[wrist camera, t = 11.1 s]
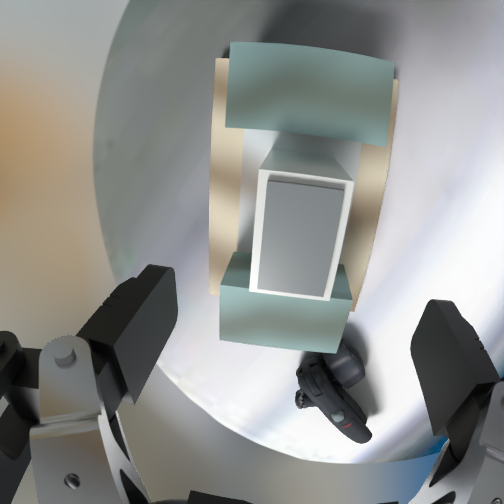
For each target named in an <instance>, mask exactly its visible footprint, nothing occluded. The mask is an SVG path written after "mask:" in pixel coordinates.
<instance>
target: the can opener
mask: <svg viewBox="0 0 504 504" xmlns="http://www.w3.org/2000/svg"><path fill="white" fill-rule="evenodd" d="M322 355H323V357H324V360H325V362H326V363H325V362H324V361H323V360H322V359H320V358H309V359H307V360H305V361H304V362H303V363H302V364H301V365H300V366H299V368H298V369H297V371H296V376H297V377H298V384H299V386H300V390H298V391H297V392H296V396H295V403H296V406H297V407H298V408H299V409H302V408H307V407H314V406H316V407H318V408H319V409H320V410H321V411H322V412H323V414H324V415H325V416H326V417H327V418H328V419H329V420H330V421H331V422H332V424H333V425H335V426H336V428H338V429H339V430H340V431H341V432H342V433H343V434H344V435H346V436H347V437H348V438H350V439H351V440H353V441H355V442H357V443H360V444H363V443H366V442H368V441H369V440H370V439H371V437H372V433H371V432H370V430H369V429H368V428H367V426H366V422H367V418H366V416H365V415H364V413H363V411H362V410H361V408H360V407H359V406H358V405H357V403H356V402H355V401H354V400H353V399H352V398H351V397H350V396H349V395H348V393H347V392H346V391H345V390H344V389H343V387H345V388H350V387H352V386H353V385H355V384H356V383H357V382H358V381H360V380H361V379H362V378H364V377H365V369H364V365H363V362H362V359H361V357H360V356H359V354H358V352H357V351H356V350H355V349H354V348H353V347H352V346H351V345H350V344H349V343H348V342H347V341H345V340H344V339H341V341H340V344H339V347H338V350H337V353H324V352H322ZM342 386H343V387H342Z"/></svg>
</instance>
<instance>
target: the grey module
mask: <svg viewBox="0 0 504 504" xmlns="http://www.w3.org/2000/svg"><path fill="white" fill-rule="evenodd" d="M353 186H354V181H353V180H352V178H351V177H350V176H349V175H348V173H347V172H346V171H345V170H344V169H343V167H342V166H341V165H340V164H339V163H338V162H337V160H336V159H335V158H334V157H329V156H323V155H315V154H308V153H300V152H292V151H283V150H274V149H271V150H270V152H269V153H268V155H267V157H266V158H265V160H264V162H263V163H262V165H261V167H260V168H259V174H258V186H257V199H256V211H255V224H254V236H253V249H252V261H251V273H250V286H249V291H250V292H257V293H265V294H273V295H281V296H289V297H297V298H306V299H314V300H323V301H329V300H330V296H331V292H332V288H333V284H334V280H335V275H336V271H337V267H338V262H339V258H340V253H341V249H342V244H343V239H344V234H345V229H346V224H347V219H348V214H349V209H350V203H351V198H352V192H353Z"/></svg>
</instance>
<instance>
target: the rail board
mask: <svg viewBox="0 0 504 504" xmlns="http://www.w3.org/2000/svg"><path fill="white" fill-rule="evenodd" d="M394 64H395V62H391V61H387V60H383V59H378V58H374V57H370V56H365V55H360V54H355V53H350V52H344V51H338V50H332V49H325V48H318V47H310V46H301V45H291V44H278V43H260V42H231V43H230V56H229V58H216V65H215V80H214V96H213V114H212V136H211V163H210V201H209V294H210V295H216V296H220V340H224V341H231V342H237V343H244V344H251V345H259V346H267V347H275V348H283V349H292V350H302V351H313V352H324V353H337V350H338V347H339V344H340V341H341V338H342V334H343V331H344V328H345V325H346V322H347V319H348V315H349V312H350V311H353V312H354V310H355V307H356V304H357V300H358V297H359V294H360V290H361V287H362V283H363V280H364V276H365V272H366V268H367V265H368V261H369V257H370V253H371V249H372V245H373V241H374V236H375V232H376V228H377V223H378V219H379V214H380V209H381V204H382V199H383V194H384V189H385V184H386V178H387V172H388V166H389V160H390V154H391V147H392V140H393V132H394V124H395V116H396V107H397V96H398V84H399V80H396V79H394ZM271 149H274V150H283V151H292V152H300V153H308V154H315V155H323V156H329V157H334V158H335V159H336V160H337V162H338V163H339V164H340V165H341V166H342V167H343V169H344V170H345V171H346V172H347V173H348V175H349V176H350V177H351V178H352V180H353V181H354V186H353V192H352V198H351V203H350V209H349V214H348V219H347V224H346V229H345V234H344V239H343V244H342V249H341V253H340V258H339V262H338V267H337V271H336V275H335V280H334V284H333V288H332V292H331V296H330V300H329V301H323V300H314V299H306V298H297V297H289V296H281V295H273V294H265V293H257V292H250V291H249V286H250V273H251V261H252V249H253V236H254V224H255V211H256V199H257V186H258V174H259V168H260V167H261V165H262V163H263V162H264V160H265V158H266V157H267V155H268V153H269V152H270V150H271Z"/></svg>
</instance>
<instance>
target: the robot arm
mask: <svg viewBox="0 0 504 504" xmlns="http://www.w3.org/2000/svg"><path fill="white" fill-rule="evenodd" d="M177 315H178V305H177V294H176V282H175V272H174V269H173V268H171V267H165V266H158V265H152V264H149V265H147V266H146V268H145V269H144V270H143V271H142V272H141V273H140V275H139V276H138V277H137V278H133V277H132V278H130V279H128V280H126V281H125V282H123V283H121V284H120V285H118V286H117V287H116V289H115V290H114V291H113V292H112V293H111V294H110V297H108V298H107V299H106V300H105V301H104V302H103V305H102V306H100V307H99V308H98V309H97V311H96V312H95V313H94V314H93V315H92V316H91V318H90V319H89V320H88V321H87V323H86V324H85V325H84V326H83V327H82V328H81V330H80V331H79V332H78V333H77V335H76V336H72V335H70V336H69V335H67V336H61V337H58V338H56V339H54V340H52V341H50V342H49V343H48V344H47V345H46V346H45V347H44V348H43V349H33V348H22V347H21V345H20V343H19V341H18V339H17V337H16V336H15V335H14V334H13V333H12V332H9V331H0V399H1V398H2V396H4V397H5V399H6V400H7V402H8V403H9V405H8V406H7V408H6V409H5V411H4V412H3V414H2V416H1V417H0V504H11V502H12V500H13V497H14V495H15V493H16V491H17V488H18V486H19V484H20V482H21V480H22V477H23V475H24V473H25V471H26V469H27V467H28V465H29V463H30V460H31V459H32V467H33V474H34V480H35V486H36V491H37V497H38V502H39V504H252V503H249V502H247V501H244V500H237V499H231V498H226V497H220V496H215V495H210V494H205V493H201V492H196V491H192V490H191V491H190V494H189V498H188V499H170V500H163V501H156V502H151V499H150V497H149V495H148V493H147V490H146V488H145V486H144V484H143V482H142V480H141V478H140V476H139V474H138V472H137V470H136V468H135V465H134V462H133V460H132V457H131V454H130V451H129V448H128V445H127V442H126V439H125V436H124V433H123V429H122V426H121V422H120V419H119V415H118V412H117V408H118V406H119V404H120V402H121V401H124V402H126V403H129V404H132V405H135V403H136V401H137V399H138V397H139V395H140V393H141V391H142V389H143V387H144V385H145V383H146V381H147V379H148V377H149V375H150V373H151V371H152V369H153V367H154V366H155V364H156V362H157V360H158V358H159V356H160V354H161V352H162V350H163V348H164V346H165V344H166V342H167V340H168V339H169V337H170V335H171V333H172V331H173V329H174V327H175V324H176V321H177ZM410 350H411V356H412V359H413V362H414V366H415V369H416V372H417V375H418V379H419V382H420V385H421V389H422V392H423V396H424V399H425V403H426V407H427V411H428V414H429V418H430V422H431V426H432V431H433V435H434V436H438V435H445V434H448V436H449V439H448V441H447V442H446V443H445V444H444V446H443V448H442V450H441V452H440V454H439V456H438V458H437V460H436V462H435V464H434V466H433V468H432V470H431V472H430V474H429V476H428V477H427V479H426V481H425V483H424V484H423V486H422V488H421V490H420V491H419V493H418V494H417V495H416V496H415V497H414V498H413V499H412V500H411V501H410V502H409V503H408V504H504V381H501V379H500V377H499V375H498V373H497V371H496V369H495V367H494V365H493V363H492V361H491V359H490V357H489V355H488V353H487V351H486V350H484V346H483V344H482V342H481V341H479V337H478V335H477V333H476V332H475V330H474V328H473V327H472V326H471V325H470V324H469V323H468V322H467V321H466V320H465V319H464V318H463V317H462V316H461V314H460V312H459V311H458V309H457V307H456V306H455V304H454V303H453V302H452V301H447V300H435V299H432V300H430V301H429V302H428V303H427V305H426V308H425V310H424V312H423V315H422V317H421V319H420V321H419V324H418V326H417V328H416V330H415V332H414V335H413V337H412V340H411V347H410ZM380 504H398V502H389V503H380Z"/></svg>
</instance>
